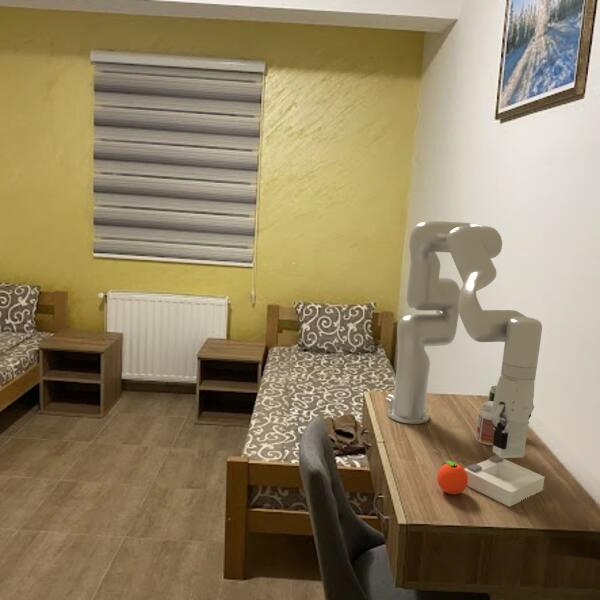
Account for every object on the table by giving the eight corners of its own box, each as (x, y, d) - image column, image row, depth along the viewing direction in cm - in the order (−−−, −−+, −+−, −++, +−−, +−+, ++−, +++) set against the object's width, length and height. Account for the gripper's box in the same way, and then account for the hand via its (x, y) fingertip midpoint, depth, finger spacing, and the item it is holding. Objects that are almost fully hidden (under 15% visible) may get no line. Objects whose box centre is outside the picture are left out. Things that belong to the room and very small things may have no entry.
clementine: (427, 484, 148) (430, 456, 147) (451, 481, 151) (455, 453, 149) (446, 501, 141) (450, 472, 140) (472, 498, 143) (476, 469, 142)
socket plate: (461, 482, 150) (463, 466, 150) (495, 468, 159) (497, 453, 158) (509, 506, 141) (511, 490, 140) (542, 490, 149) (545, 474, 149)
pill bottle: (503, 443, 175) (508, 405, 173) (488, 447, 172) (493, 409, 170) (485, 435, 180) (490, 398, 178) (470, 438, 177) (475, 401, 175)
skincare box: (514, 450, 151) (520, 402, 148) (524, 457, 146) (531, 409, 144) (491, 451, 149) (497, 402, 147) (500, 458, 145) (507, 409, 143)
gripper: (524, 361, 152) (515, 431, 156) (482, 371, 141) (473, 446, 145) (553, 370, 147) (543, 441, 150) (511, 381, 136) (501, 458, 139)
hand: (509, 443), depth 147 cm, fingers closed on skincare box, 7 cm apart
